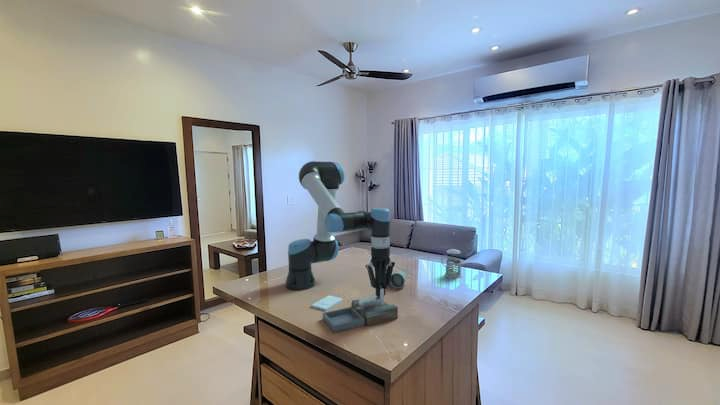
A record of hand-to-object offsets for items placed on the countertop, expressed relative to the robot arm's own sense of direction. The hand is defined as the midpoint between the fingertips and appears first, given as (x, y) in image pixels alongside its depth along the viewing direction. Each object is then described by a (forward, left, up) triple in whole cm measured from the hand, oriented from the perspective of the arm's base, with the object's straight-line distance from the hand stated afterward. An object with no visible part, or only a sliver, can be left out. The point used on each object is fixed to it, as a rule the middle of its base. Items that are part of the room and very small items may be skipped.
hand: (380, 303), depth 120 cm
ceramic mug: (-24, +23, -4) cm, 34 cm away
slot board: (0, -3, -4) cm, 5 cm away
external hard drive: (-19, -16, -5) cm, 25 cm away
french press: (-23, +61, -4) cm, 65 cm away
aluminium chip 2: (0, -3, -1) cm, 3 cm away
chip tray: (0, -17, -4) cm, 17 cm away
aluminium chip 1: (0, -7, -1) cm, 7 cm away
